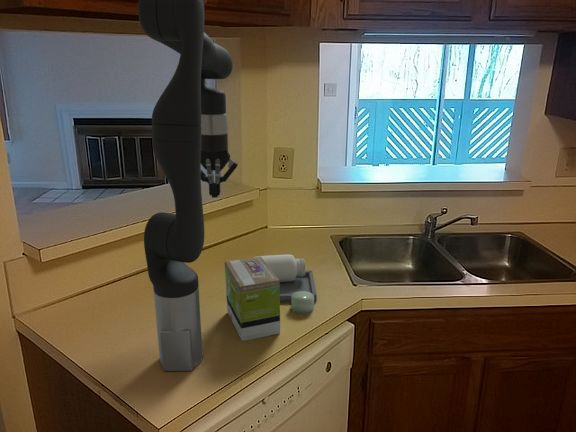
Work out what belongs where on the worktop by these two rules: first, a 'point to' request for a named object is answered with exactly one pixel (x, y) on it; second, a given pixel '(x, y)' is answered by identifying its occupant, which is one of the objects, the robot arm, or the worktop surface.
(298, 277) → the tray
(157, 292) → the robot arm
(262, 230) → the worktop surface
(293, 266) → the pill bottle
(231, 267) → the tea box
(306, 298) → the squat mint cylinder
